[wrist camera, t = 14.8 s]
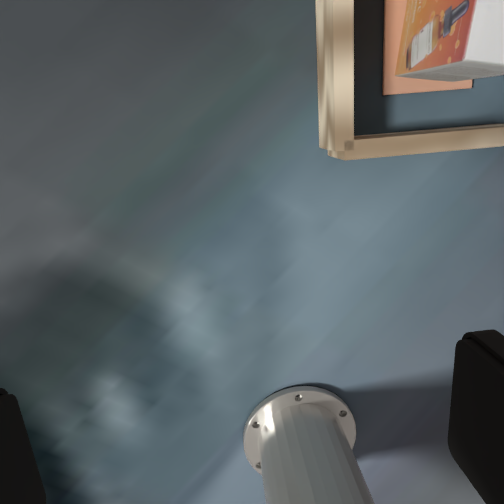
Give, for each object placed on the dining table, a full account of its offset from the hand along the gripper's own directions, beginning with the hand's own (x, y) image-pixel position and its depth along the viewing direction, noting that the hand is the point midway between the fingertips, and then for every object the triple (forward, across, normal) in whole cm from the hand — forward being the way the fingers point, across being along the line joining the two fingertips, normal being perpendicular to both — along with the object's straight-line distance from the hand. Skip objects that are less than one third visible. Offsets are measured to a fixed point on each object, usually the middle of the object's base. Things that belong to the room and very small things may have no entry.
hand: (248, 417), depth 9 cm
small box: (+30, -19, -12) cm, 38 cm away
